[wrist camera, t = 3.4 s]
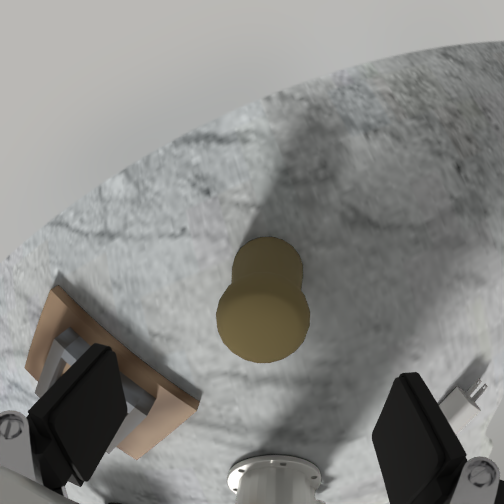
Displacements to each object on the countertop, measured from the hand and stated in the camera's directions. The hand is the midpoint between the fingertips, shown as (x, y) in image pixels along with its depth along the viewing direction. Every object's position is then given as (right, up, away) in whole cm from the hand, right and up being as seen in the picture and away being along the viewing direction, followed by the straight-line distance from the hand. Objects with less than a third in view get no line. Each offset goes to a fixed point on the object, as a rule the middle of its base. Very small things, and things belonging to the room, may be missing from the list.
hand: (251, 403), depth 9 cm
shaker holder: (-18, -11, +21) cm, 30 cm away
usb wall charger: (+26, -13, +19) cm, 34 cm away
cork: (+1, +3, +17) cm, 17 cm away
